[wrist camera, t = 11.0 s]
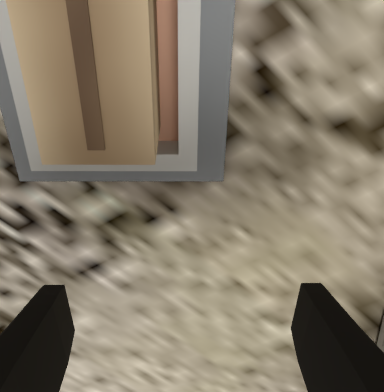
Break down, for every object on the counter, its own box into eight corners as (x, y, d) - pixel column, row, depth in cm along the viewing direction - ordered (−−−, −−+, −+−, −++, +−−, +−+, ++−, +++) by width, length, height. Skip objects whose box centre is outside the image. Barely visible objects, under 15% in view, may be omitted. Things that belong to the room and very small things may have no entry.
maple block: (153, -102, 12) (142, -130, 9) (160, 124, 17) (154, 166, 13) (33, -105, 12) (-26, -135, 9) (71, 124, 16) (41, 165, 13)
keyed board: (222, 177, 19) (226, 198, 17) (22, 177, 18) (6, 198, 17) (248, -223, 11) (260, -257, 10) (-83, -233, 11) (-132, -270, 9)
